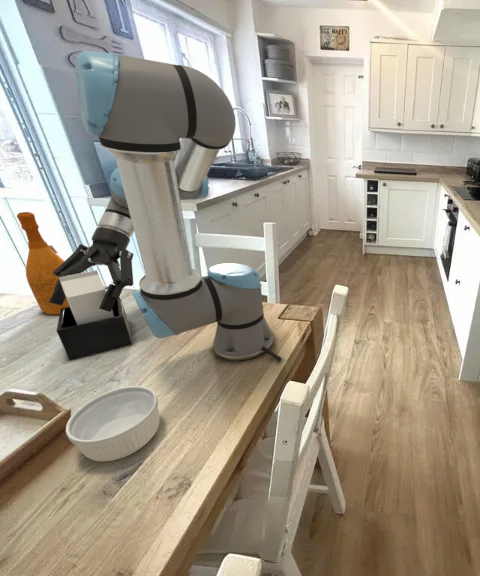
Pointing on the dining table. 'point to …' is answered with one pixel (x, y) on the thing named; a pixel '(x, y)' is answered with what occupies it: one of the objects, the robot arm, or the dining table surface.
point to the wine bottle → (41, 265)
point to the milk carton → (85, 296)
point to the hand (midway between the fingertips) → (79, 307)
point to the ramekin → (115, 423)
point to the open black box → (93, 332)
